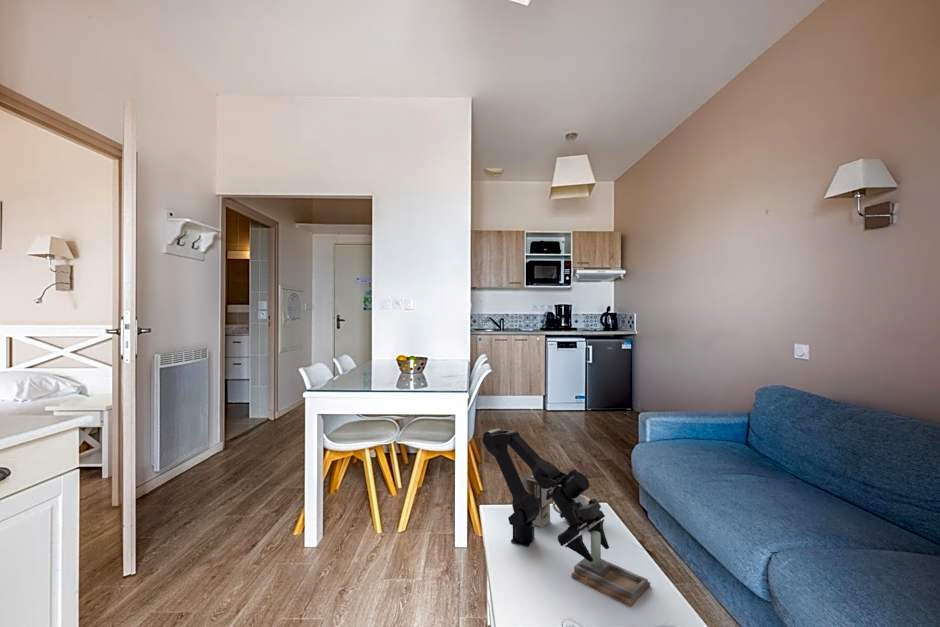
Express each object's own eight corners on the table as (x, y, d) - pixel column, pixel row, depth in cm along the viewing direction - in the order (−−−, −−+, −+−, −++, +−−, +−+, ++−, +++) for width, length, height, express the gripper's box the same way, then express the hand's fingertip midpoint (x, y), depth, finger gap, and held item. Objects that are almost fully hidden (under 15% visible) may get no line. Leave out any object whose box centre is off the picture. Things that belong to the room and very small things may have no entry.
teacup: (590, 515, 164) (590, 494, 164) (591, 529, 153) (591, 507, 153) (553, 512, 167) (553, 491, 167) (552, 525, 156) (551, 503, 156)
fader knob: (581, 570, 127) (581, 533, 127) (592, 562, 131) (591, 526, 131) (600, 579, 122) (599, 540, 122) (610, 570, 127) (610, 533, 127)
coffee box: (551, 521, 159) (550, 478, 159) (542, 528, 155) (541, 483, 155) (529, 514, 165) (529, 472, 165) (520, 520, 160) (520, 477, 160)
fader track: (571, 577, 126) (571, 568, 126) (592, 560, 134) (592, 552, 134) (630, 607, 113) (630, 597, 113) (650, 586, 121) (650, 577, 121)
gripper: (566, 502, 123) (601, 556, 115) (599, 483, 136) (633, 530, 128) (543, 520, 129) (576, 572, 121) (577, 500, 142) (608, 547, 134)
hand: (600, 554), depth 126 cm, fingers open, 9 cm apart
